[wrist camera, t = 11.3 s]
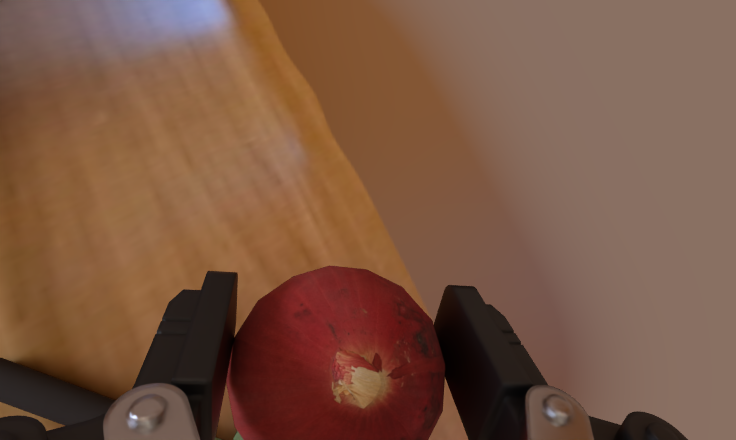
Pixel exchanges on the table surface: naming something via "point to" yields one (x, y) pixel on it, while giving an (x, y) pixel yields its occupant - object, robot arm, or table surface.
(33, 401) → the spatula
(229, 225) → the table surface
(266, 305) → the onion
